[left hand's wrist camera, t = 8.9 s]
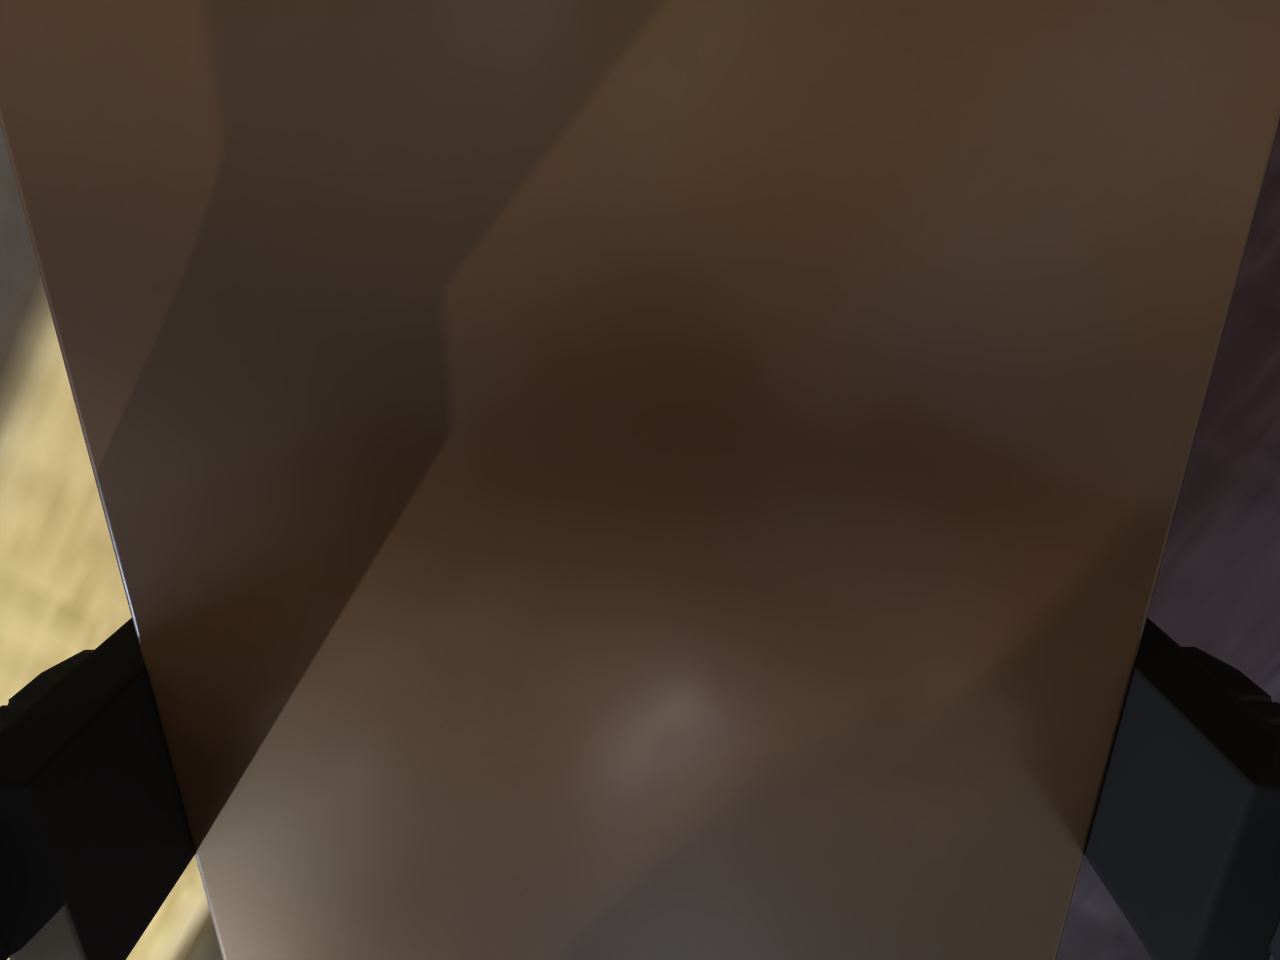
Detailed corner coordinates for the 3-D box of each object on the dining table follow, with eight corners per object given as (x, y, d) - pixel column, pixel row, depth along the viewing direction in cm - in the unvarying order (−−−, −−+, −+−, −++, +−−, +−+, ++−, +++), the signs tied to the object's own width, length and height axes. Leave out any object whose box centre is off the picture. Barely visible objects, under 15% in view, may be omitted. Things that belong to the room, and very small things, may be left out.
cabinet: (285, -313, 12) (-368, -1224, 4) (994, -312, 12) (1645, -1219, 4) (406, 659, 18) (234, 1011, 10) (872, 659, 18) (1044, 1012, 10)
